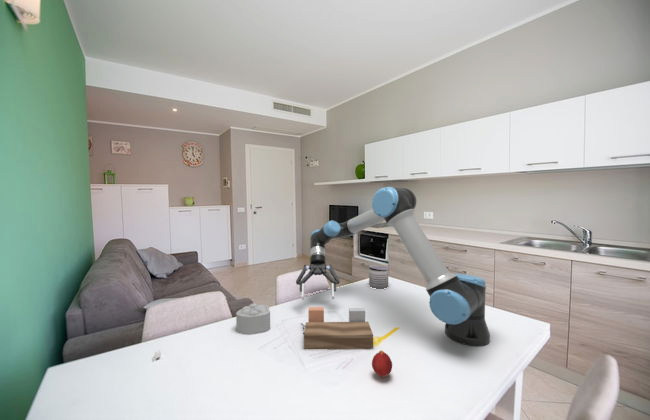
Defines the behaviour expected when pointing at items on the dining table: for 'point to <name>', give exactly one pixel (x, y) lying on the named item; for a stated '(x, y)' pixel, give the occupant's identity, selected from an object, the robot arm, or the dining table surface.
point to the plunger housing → (338, 335)
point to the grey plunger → (356, 315)
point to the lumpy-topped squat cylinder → (253, 319)
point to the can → (378, 277)
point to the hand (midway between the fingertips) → (317, 298)
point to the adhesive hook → (157, 355)
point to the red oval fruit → (382, 364)
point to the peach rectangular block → (316, 314)
